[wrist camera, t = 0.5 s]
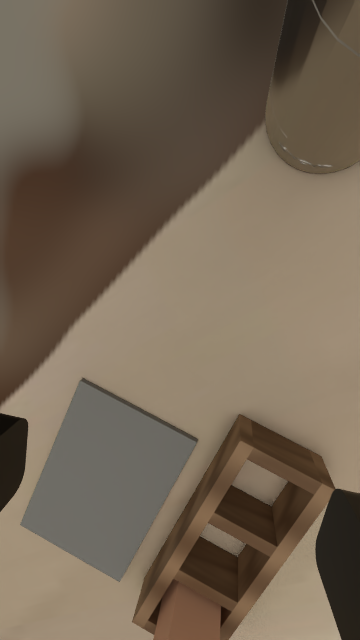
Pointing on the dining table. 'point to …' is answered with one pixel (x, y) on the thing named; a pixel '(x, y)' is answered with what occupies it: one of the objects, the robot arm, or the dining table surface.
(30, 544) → the dining table surface
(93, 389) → the mat
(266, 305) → the dining table surface
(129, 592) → the dining table surface
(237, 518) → the stand
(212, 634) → the block
